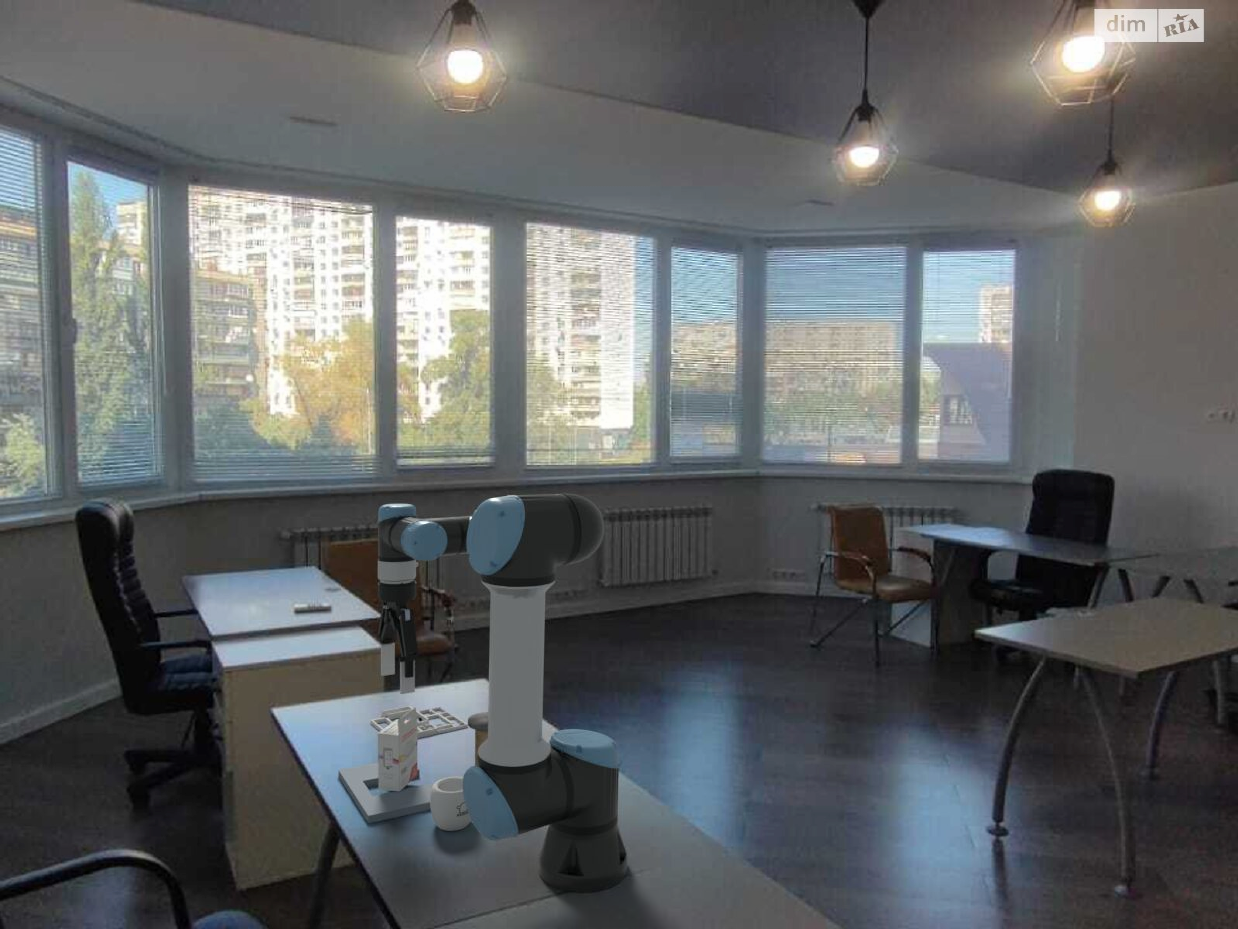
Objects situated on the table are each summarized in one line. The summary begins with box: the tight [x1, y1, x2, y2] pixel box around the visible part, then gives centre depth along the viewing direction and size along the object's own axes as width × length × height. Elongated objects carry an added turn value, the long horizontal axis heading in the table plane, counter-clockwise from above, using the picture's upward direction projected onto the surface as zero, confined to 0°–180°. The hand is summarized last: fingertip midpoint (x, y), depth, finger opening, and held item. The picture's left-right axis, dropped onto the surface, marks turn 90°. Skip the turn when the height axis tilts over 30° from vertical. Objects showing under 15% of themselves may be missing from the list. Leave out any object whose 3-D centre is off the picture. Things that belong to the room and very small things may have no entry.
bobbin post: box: [467, 711, 488, 766], centre depth 178 cm, size 10×10×14 cm
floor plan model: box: [370, 705, 469, 739], centre depth 213 cm, size 19×25×2 cm
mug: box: [430, 776, 472, 832], centre depth 163 cm, size 12×8×8 cm
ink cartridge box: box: [377, 707, 418, 792], centre depth 176 cm, size 9×5×15 cm, turn 168°
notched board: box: [338, 761, 434, 824], centre depth 176 cm, size 24×15×2 cm, turn 31°
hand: (397, 683), depth 176 cm, fingers open, 13 cm apart
